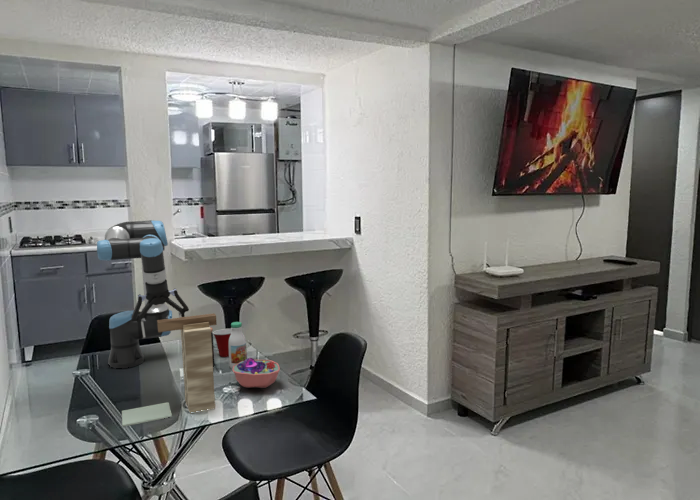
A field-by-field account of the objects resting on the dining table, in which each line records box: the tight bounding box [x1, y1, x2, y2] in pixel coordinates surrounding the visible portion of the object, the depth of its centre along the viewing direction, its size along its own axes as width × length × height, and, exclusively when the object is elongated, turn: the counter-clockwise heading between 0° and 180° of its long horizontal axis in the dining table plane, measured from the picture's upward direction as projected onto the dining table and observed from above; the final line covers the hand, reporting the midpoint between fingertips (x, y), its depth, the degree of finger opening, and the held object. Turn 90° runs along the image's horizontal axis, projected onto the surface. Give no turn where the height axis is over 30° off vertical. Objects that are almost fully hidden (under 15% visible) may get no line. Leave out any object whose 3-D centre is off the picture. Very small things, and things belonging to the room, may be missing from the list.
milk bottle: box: [228, 321, 248, 370], centre depth 228 cm, size 8×8×20 cm
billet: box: [157, 313, 217, 332], centre depth 186 cm, size 4×20×4 cm, turn 115°
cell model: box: [231, 357, 281, 389], centre depth 207 cm, size 17×20×11 cm
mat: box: [121, 401, 173, 428], centre depth 184 cm, size 12×16×1 cm
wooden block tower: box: [180, 322, 216, 414], centre depth 189 cm, size 12×9×32 cm
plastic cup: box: [212, 328, 232, 358], centre depth 244 cm, size 11×11×12 cm
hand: (163, 332), depth 196 cm, fingers open, 13 cm apart
